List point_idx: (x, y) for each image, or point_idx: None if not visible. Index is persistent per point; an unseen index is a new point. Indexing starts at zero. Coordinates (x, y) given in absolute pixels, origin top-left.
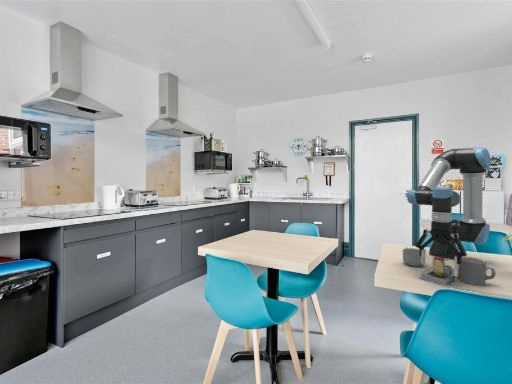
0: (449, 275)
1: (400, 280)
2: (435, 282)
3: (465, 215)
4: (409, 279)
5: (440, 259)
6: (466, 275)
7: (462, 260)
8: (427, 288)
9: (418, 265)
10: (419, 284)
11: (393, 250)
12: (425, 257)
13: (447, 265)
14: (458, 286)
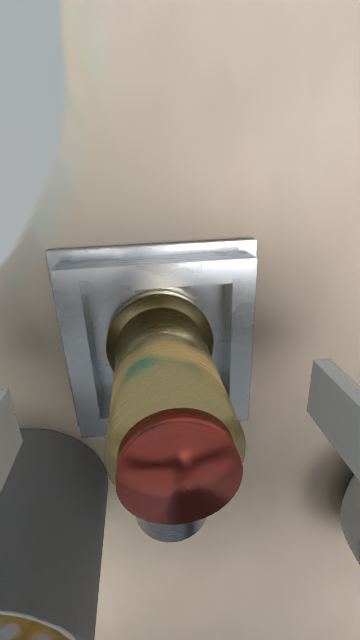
0: None
1: (354, 14)
2: (135, 245)
3: None
4: (305, 135)
5: (141, 433)
6: None
7: (3, 608)
8: (100, 15)
9: (355, 476)
10: (196, 71)
11: None
12: (336, 450)
13: (181, 535)
14: (9, 328)
